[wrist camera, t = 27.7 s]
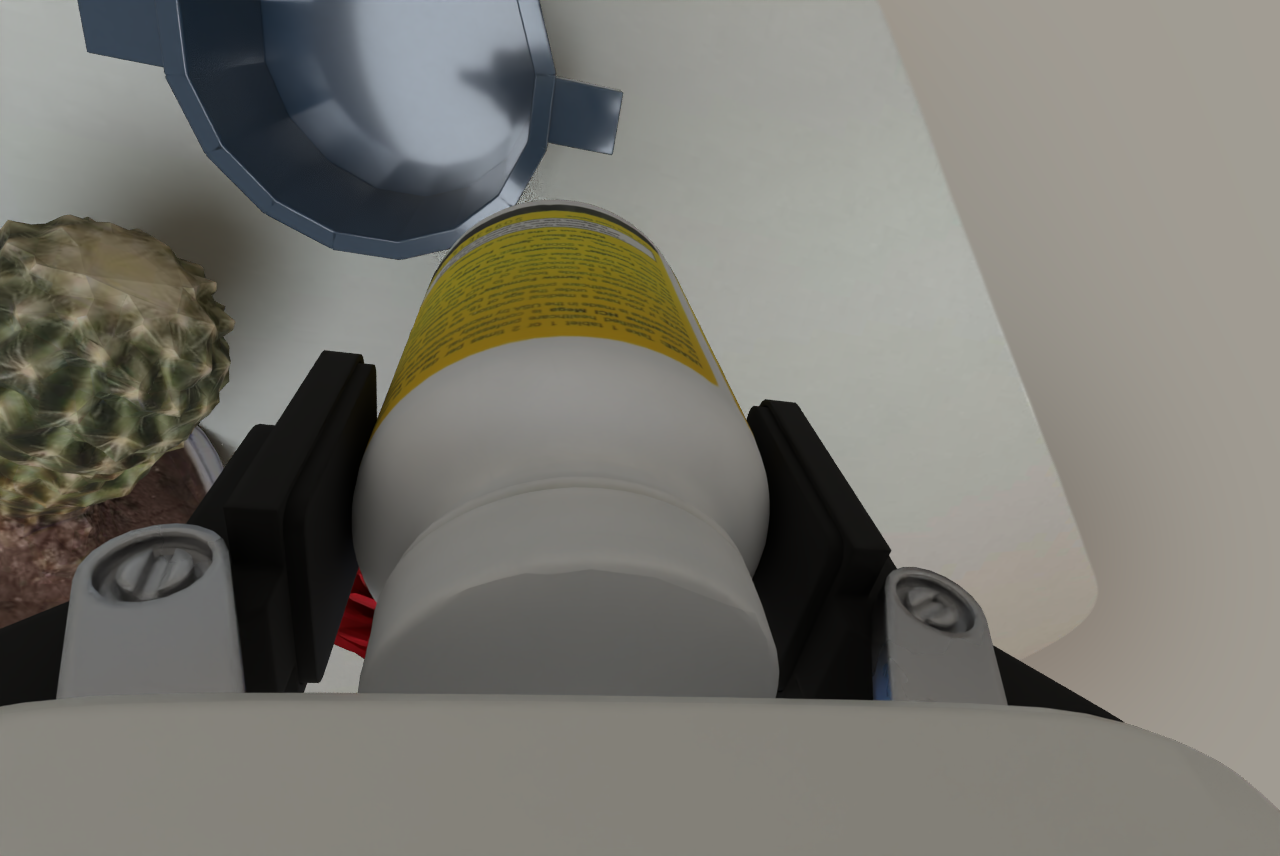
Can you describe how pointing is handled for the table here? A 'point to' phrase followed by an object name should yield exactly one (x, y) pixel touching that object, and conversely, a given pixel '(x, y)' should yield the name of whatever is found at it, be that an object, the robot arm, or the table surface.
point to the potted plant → (98, 397)
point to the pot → (365, 107)
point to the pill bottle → (562, 479)
